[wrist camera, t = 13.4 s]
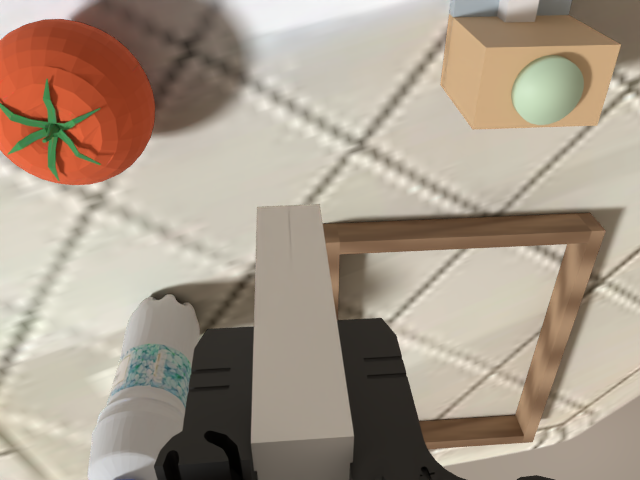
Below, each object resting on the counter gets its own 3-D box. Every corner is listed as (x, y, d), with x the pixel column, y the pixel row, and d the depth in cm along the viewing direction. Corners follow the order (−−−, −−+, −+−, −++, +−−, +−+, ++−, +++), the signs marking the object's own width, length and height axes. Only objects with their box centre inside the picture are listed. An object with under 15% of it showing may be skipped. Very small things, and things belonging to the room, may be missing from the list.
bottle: (133, 280, 50) (68, 492, 34) (209, 292, 51) (183, 502, 35) (126, 334, 53) (64, 551, 37) (198, 344, 55) (169, 557, 39)
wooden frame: (322, 223, 48) (324, 242, 46) (589, 212, 50) (605, 230, 47) (321, 434, 64) (323, 456, 62) (523, 421, 66) (532, 442, 63)
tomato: (51, -33, 36) (-14, 4, 27) (192, 66, 40) (173, 124, 32) (-13, 93, 40) (-86, 157, 32) (121, 171, 44) (88, 246, 36)
